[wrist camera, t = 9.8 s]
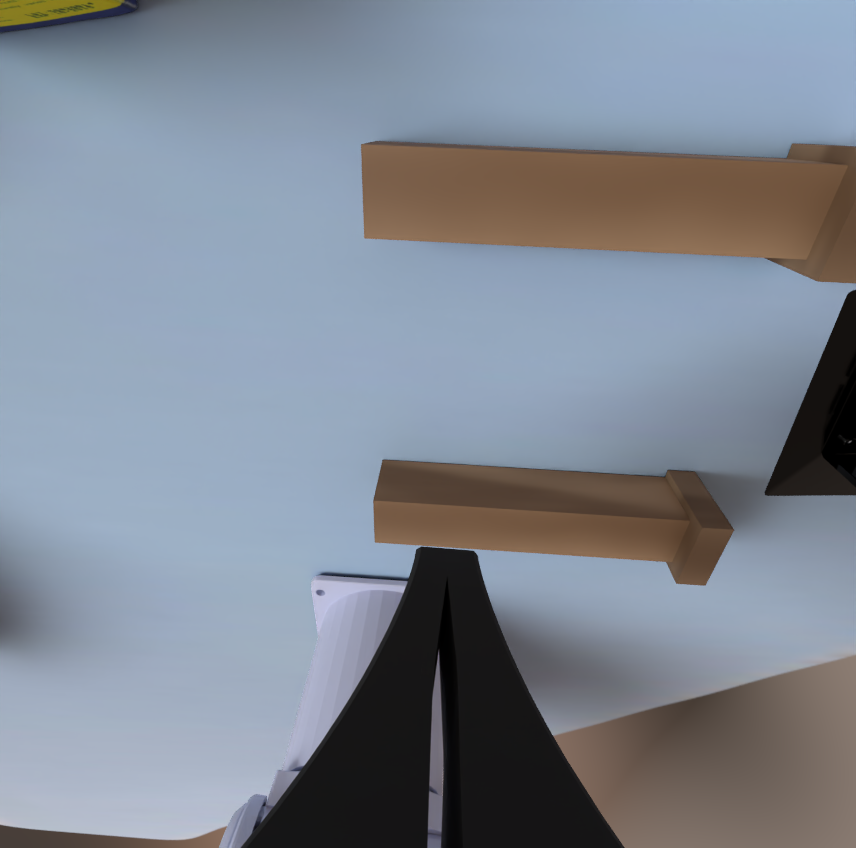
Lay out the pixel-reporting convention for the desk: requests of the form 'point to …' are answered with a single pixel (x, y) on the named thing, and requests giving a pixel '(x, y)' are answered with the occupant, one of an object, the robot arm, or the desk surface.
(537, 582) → the desk surface
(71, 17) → the supplement box
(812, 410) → the black bracket
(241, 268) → the desk surface
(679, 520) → the wooden rail pair
